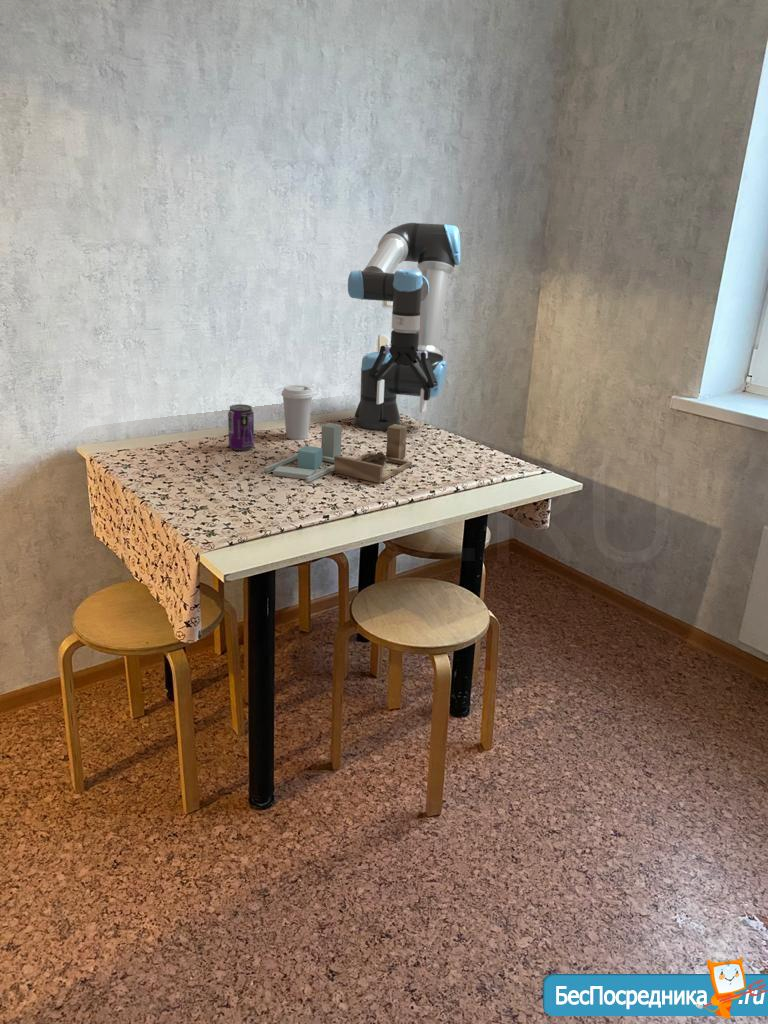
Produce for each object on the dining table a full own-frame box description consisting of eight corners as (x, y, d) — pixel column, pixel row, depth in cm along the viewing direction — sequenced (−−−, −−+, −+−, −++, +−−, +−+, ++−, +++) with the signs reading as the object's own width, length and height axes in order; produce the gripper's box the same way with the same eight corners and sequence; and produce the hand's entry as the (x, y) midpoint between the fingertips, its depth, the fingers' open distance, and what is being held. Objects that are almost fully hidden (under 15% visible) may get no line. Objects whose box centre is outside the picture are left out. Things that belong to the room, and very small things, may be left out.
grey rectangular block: (279, 469, 205) (279, 465, 204) (315, 474, 203) (315, 470, 202) (273, 475, 201) (273, 470, 200) (309, 479, 199) (309, 475, 198)
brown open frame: (377, 451, 224) (379, 420, 220) (420, 460, 218) (422, 429, 214) (333, 472, 205) (334, 439, 201) (379, 483, 198) (381, 449, 195)
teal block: (305, 463, 212) (305, 445, 210) (322, 465, 210) (322, 448, 208) (297, 468, 207) (297, 450, 205) (314, 471, 206) (314, 453, 204)
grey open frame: (314, 450, 222) (314, 419, 218) (356, 459, 216) (357, 428, 212) (264, 471, 203) (263, 438, 199) (308, 482, 196) (308, 448, 193)
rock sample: (370, 448, 214) (374, 435, 205) (386, 470, 212) (391, 458, 204) (340, 467, 211) (342, 455, 203) (356, 489, 209) (359, 478, 201)
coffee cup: (297, 443, 228) (298, 393, 222) (274, 436, 233) (274, 387, 227) (319, 436, 235) (320, 388, 229) (296, 430, 240) (296, 382, 235)
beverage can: (251, 452, 218) (251, 410, 213) (226, 450, 218) (225, 409, 213) (256, 444, 224) (255, 404, 220) (231, 443, 224) (230, 403, 220)
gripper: (358, 326, 209) (355, 402, 218) (441, 338, 199) (435, 417, 207) (372, 323, 216) (369, 397, 224) (453, 334, 205) (447, 411, 213)
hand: (401, 407), depth 215 cm, fingers open, 13 cm apart
